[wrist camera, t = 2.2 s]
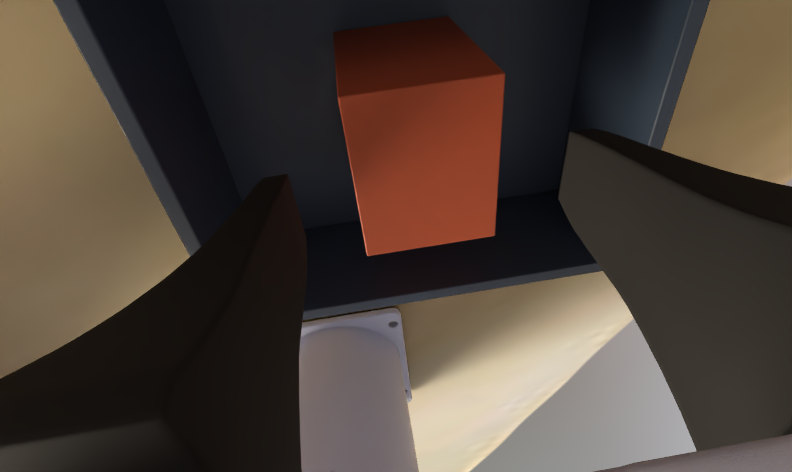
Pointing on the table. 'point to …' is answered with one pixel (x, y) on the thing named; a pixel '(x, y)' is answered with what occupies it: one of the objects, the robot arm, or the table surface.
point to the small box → (420, 132)
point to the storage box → (323, 131)
